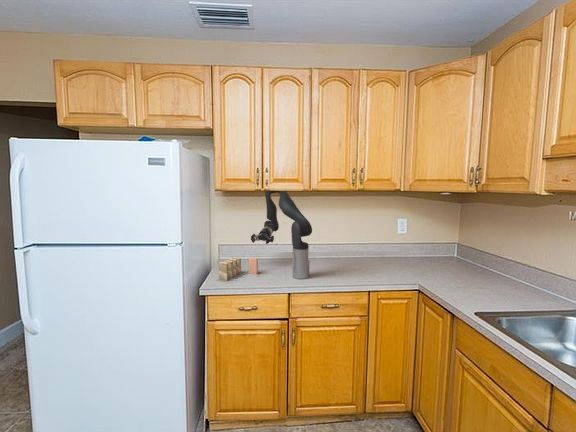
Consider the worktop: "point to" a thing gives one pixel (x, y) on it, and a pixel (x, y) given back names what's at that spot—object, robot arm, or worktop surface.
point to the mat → (234, 277)
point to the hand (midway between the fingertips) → (259, 242)
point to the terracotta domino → (253, 266)
